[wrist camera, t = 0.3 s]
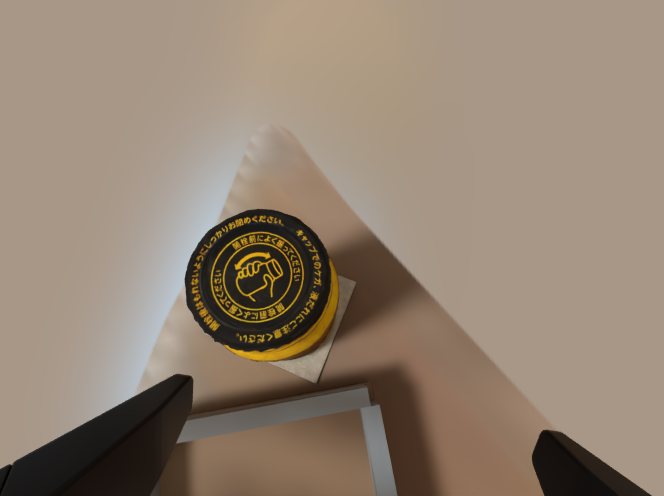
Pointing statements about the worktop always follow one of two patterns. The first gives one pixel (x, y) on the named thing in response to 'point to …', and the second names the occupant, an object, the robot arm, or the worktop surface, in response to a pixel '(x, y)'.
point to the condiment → (268, 291)
